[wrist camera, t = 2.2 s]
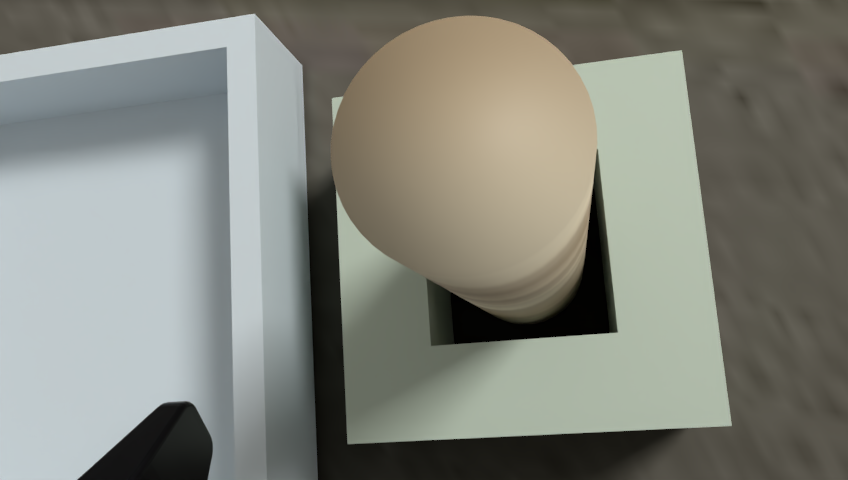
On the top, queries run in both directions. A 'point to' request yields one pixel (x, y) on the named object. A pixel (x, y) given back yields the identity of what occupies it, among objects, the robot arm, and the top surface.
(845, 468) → the top surface
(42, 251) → the tray
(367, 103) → the dowel
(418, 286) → the dowel block
